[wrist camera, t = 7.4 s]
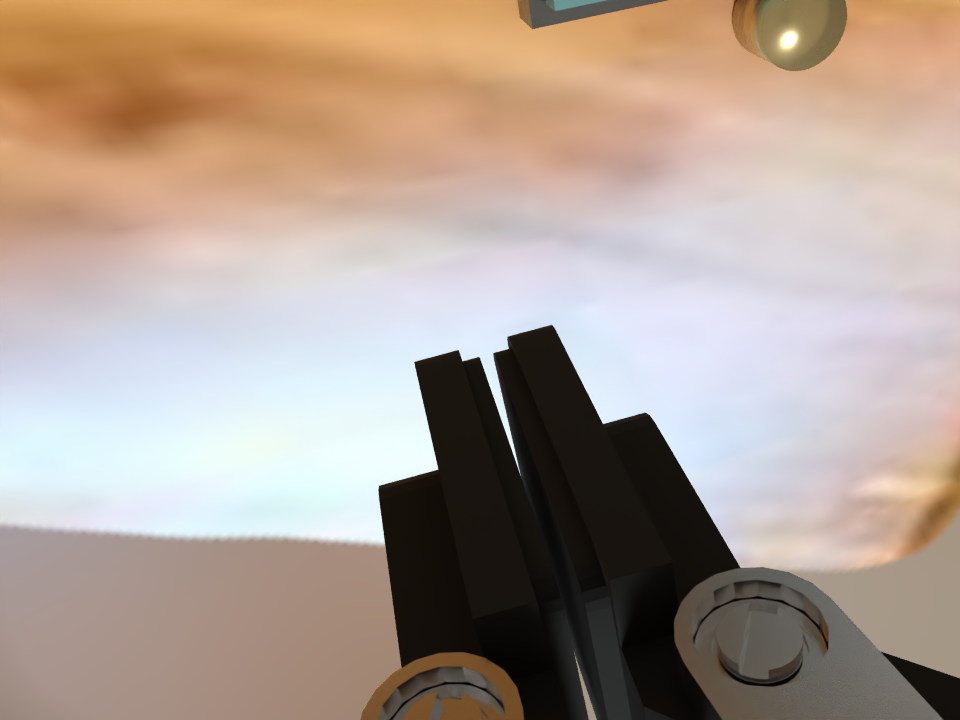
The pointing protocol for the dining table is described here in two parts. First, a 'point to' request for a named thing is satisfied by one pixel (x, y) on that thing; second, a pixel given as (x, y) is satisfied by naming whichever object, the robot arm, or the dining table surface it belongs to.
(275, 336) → the dining table surface
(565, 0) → the plate
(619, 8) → the base
